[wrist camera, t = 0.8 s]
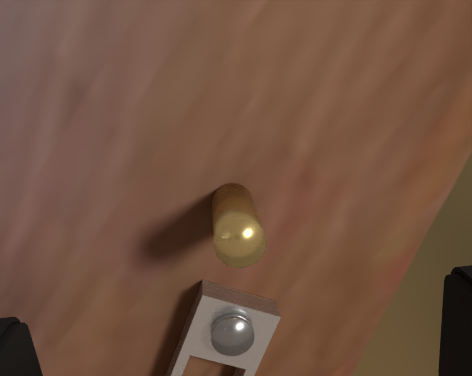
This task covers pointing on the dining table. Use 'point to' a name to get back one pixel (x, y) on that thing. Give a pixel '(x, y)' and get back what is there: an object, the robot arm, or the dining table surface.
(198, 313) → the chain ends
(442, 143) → the dining table surface
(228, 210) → the pin
